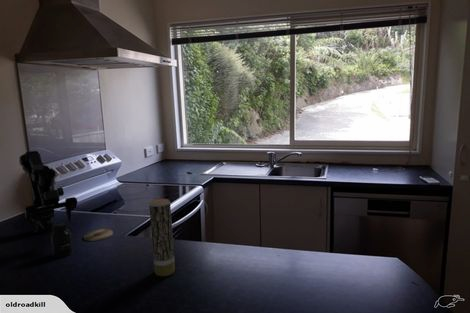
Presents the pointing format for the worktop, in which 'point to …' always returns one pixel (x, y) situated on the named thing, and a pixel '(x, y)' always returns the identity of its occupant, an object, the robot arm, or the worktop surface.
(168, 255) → the pale patterned cylinder
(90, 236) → the cork trivet
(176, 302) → the worktop surface
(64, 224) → the supplement bottle
